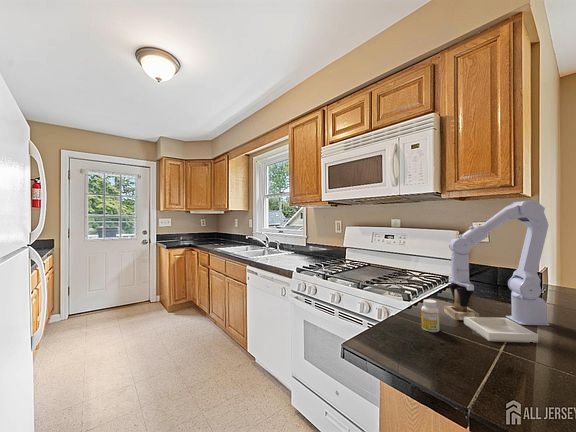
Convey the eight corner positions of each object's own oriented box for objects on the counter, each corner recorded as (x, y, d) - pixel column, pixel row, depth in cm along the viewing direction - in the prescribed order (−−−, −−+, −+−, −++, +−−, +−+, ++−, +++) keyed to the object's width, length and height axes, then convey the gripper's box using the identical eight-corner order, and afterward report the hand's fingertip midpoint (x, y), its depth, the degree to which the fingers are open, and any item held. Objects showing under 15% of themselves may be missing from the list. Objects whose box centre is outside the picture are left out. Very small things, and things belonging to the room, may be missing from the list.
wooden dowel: (463, 311, 107) (463, 288, 107) (469, 315, 103) (468, 291, 103) (452, 311, 107) (452, 288, 108) (458, 315, 103) (457, 291, 104)
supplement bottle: (427, 325, 97) (426, 297, 97) (442, 330, 92) (442, 301, 92) (418, 328, 94) (418, 300, 94) (434, 333, 89) (433, 304, 89)
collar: (466, 312, 109) (466, 306, 109) (479, 320, 101) (479, 313, 101) (444, 312, 110) (444, 305, 110) (454, 319, 101) (454, 313, 101)
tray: (505, 324, 96) (505, 317, 96) (538, 342, 82) (538, 334, 82) (464, 323, 98) (463, 316, 98) (488, 341, 84) (488, 332, 84)
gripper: (440, 266, 113) (441, 298, 113) (459, 272, 99) (459, 310, 98) (458, 266, 112) (459, 299, 112) (479, 273, 98) (480, 310, 98)
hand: (460, 304), depth 105 cm, fingers closed on wooden dowel, 4 cm apart
